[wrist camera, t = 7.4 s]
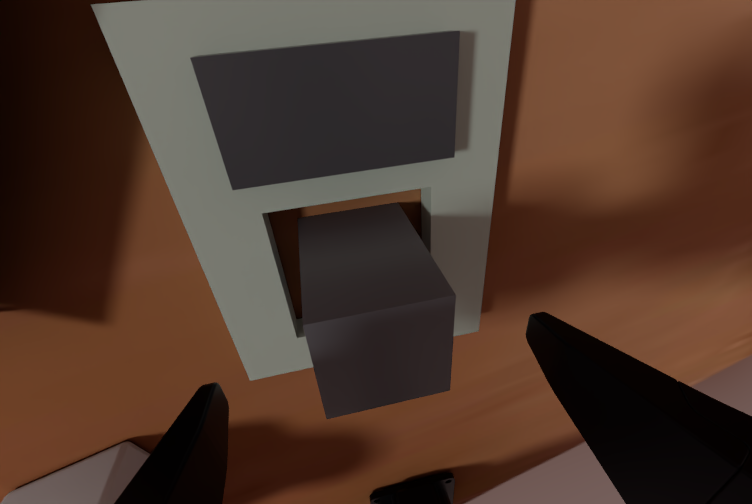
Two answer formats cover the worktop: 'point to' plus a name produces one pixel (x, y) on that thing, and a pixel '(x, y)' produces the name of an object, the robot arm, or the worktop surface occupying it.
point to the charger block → (373, 309)
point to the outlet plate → (316, 133)
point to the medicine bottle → (85, 479)
